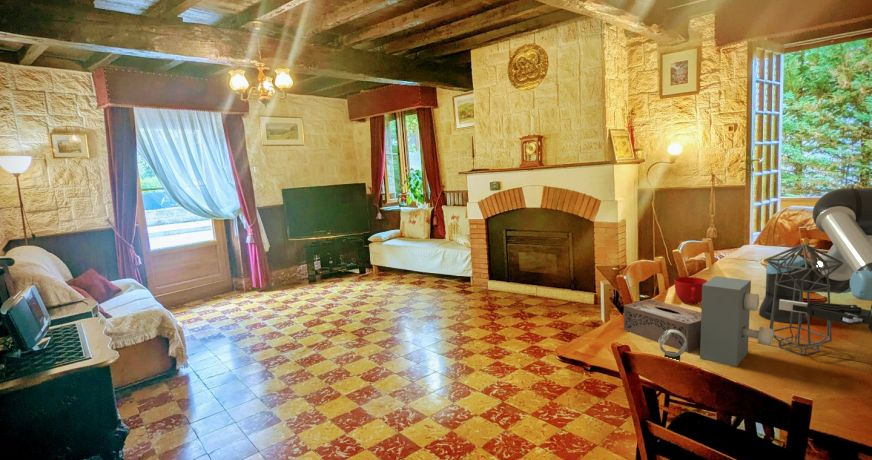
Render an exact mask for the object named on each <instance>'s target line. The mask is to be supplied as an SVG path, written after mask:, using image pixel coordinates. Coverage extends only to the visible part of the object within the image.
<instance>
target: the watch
mask: <svg viewBox="0 0 872 460" xmlns="http://www.w3.org/2000/svg"><path fill="white" fill-rule="evenodd" d="M671 333H677V334H680V336H682V337H683V338H684V340H685V342H684V345H683V347H682V348H681V349H680V350H678V352H677V351H670V350H665V349H664V347H663V345H664V343H665V342H666V341H667V340H668V338H669V336H670V334H671ZM657 343H658V345H659V347H658V348H659V349H660V351H661V352H662V353H663V354H664V357H668V358H672V359H676V360H679V361H680V362H681V355H683V354H684V351H685V349H686V347H687V340H686V337H685V336H684V334H683V333H681V332H680V331H678V330H673V329H671V330H666V331H665V332H664V333H663V334H662V335H661V337H660V339H659V341H658V342H657Z"/></svg>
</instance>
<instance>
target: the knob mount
mask: <svg viewBox="0 0 872 460" xmlns="http://www.w3.org/2000/svg"><path fill="white" fill-rule="evenodd" d="M707 281H708V282H706V283H705V284H703V285H702V301H701V310H700V312H701V342H700V349H699V359H701V360H704V361H705V360H706V361H710V362H715V363H718V364H723V365H727V366H731V367H734V368H735V367H738V366H739V364H740V363H741V361H742V360H743V359H744V358H745V357H746V355H747V354H748V352H749V337H747V336H742V328H746V329H750V311H751V310H748V309H744V305H743V299H744V296H745V294H746V293H751V288H752V287H751V285H752V284H751V283H752V280H751V279H750V280H749V279H741V278H733V277H725V276H716V275H715V276H713V277H712V278H710V279H709V280H707Z"/></svg>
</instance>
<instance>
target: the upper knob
mask: <svg viewBox="0 0 872 460" xmlns="http://www.w3.org/2000/svg"><path fill="white" fill-rule="evenodd" d="M743 305H744V309H748V310H750V311H755V312H756V311H758V310H759V307H760V306H759V305H760V295H759V294H757V293H752V292H750V293H746V294H745V296H744V299H743Z"/></svg>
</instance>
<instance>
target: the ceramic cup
mask: <svg viewBox="0 0 872 460" xmlns="http://www.w3.org/2000/svg"><path fill="white" fill-rule="evenodd" d="M673 281H674V290H675V293H676V296H677V297H678V299H679V300H680V301H681V302H682V304H685V305H693V306H695V305H699V304H700V303H702V285H703V284H705V283H706V282H708V281H709V280H707V279H704V278H702V277H701V278H700V277H697V276H696V277H695V276H692V277H691V276H679V277H676V278H674V280H673Z"/></svg>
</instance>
